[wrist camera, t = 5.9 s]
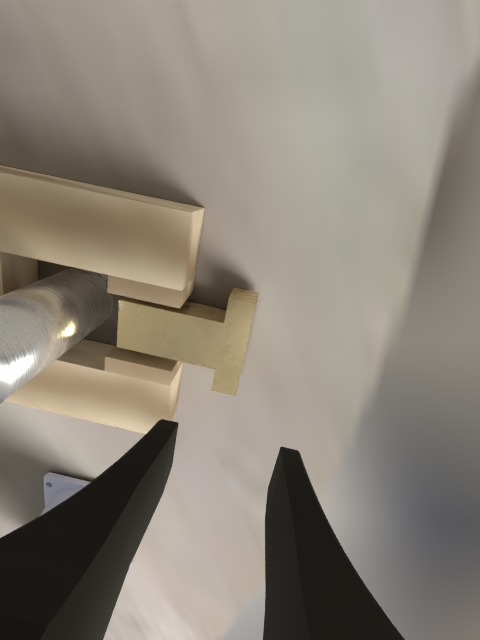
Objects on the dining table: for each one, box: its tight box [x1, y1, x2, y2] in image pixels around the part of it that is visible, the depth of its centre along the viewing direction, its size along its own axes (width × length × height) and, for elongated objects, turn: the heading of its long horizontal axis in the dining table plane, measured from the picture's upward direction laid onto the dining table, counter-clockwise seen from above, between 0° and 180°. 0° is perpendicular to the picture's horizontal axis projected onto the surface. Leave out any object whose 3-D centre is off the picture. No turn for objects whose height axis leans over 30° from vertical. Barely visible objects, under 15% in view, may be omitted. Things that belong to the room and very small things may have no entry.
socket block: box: [0, 165, 205, 434], centre depth 21 cm, size 14×14×3 cm
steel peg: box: [0, 267, 113, 403], centre depth 18 cm, size 4×4×9 cm
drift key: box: [117, 287, 258, 396], centre depth 20 cm, size 6×8×2 cm
